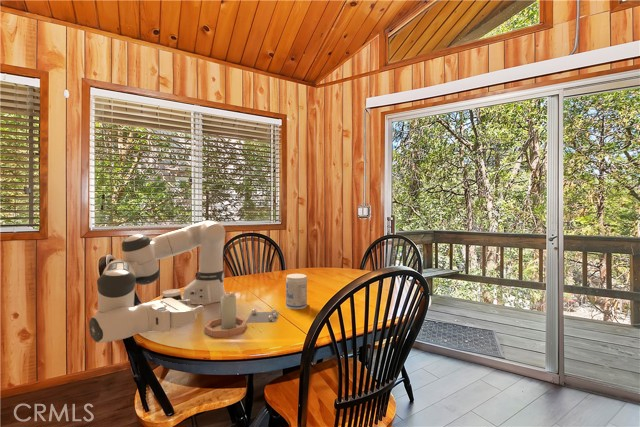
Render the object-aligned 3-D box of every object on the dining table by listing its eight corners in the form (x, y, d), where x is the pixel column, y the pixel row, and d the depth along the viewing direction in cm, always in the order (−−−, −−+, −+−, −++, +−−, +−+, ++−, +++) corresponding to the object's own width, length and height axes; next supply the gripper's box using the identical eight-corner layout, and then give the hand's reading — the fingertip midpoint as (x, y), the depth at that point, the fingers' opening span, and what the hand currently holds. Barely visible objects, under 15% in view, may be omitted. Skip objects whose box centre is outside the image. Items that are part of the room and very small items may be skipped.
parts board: (245, 324, 125) (245, 317, 125) (251, 314, 137) (251, 307, 137) (276, 324, 126) (276, 316, 126) (279, 313, 138) (279, 306, 138)
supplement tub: (281, 308, 145) (281, 275, 145) (296, 303, 153) (296, 272, 152) (296, 312, 139) (296, 279, 139) (311, 307, 146) (311, 275, 146)
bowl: (200, 339, 112) (200, 331, 112) (212, 323, 126) (212, 316, 126) (241, 338, 112) (240, 330, 112) (249, 323, 127) (248, 316, 126)
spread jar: (159, 317, 133) (159, 289, 133) (188, 312, 140) (188, 285, 139) (164, 326, 123) (163, 296, 123) (194, 320, 130) (194, 292, 129)
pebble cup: (219, 331, 117) (218, 294, 117) (223, 325, 123) (223, 290, 123) (234, 330, 118) (233, 294, 117) (237, 325, 123) (237, 290, 123)
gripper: (142, 317, 107) (183, 307, 117) (166, 334, 93) (211, 321, 103) (142, 298, 107) (183, 290, 117) (166, 313, 93) (210, 302, 103)
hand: (196, 304), depth 110 cm, fingers open, 8 cm apart
